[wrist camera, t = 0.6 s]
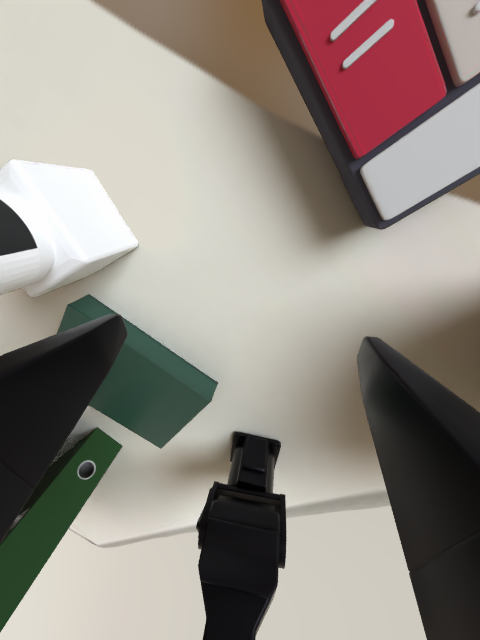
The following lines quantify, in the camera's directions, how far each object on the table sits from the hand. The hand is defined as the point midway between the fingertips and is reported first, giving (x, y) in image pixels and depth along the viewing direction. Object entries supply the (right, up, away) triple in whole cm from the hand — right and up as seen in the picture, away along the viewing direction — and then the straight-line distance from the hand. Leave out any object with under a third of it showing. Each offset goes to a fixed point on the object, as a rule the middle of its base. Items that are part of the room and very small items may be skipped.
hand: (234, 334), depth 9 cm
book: (-13, -6, +22) cm, 27 cm away
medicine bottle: (-14, +10, +14) cm, 22 cm away
